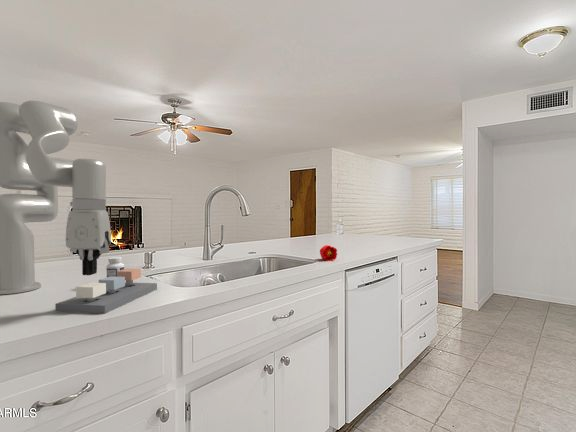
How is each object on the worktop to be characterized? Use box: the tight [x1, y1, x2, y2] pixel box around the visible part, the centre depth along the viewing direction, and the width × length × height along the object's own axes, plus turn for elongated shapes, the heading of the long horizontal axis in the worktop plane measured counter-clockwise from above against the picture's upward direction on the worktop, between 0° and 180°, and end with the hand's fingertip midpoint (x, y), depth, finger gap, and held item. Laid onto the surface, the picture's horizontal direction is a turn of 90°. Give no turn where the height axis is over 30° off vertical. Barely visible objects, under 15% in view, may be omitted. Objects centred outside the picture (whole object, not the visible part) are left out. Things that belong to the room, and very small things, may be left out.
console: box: [54, 281, 158, 314], centre depth 91 cm, size 14×24×2 cm, turn 172°
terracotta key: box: [117, 268, 142, 286], centre depth 99 cm, size 5×5×5 cm
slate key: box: [98, 276, 126, 294], centre depth 91 cm, size 5×5×5 cm
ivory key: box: [75, 282, 106, 302], centre depth 83 cm, size 5×5×5 cm
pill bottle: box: [106, 256, 125, 278], centre depth 108 cm, size 5×5×10 cm
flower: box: [319, 244, 338, 262], centre depth 160 cm, size 8×8×8 cm
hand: (89, 274), depth 84 cm, fingers closed
